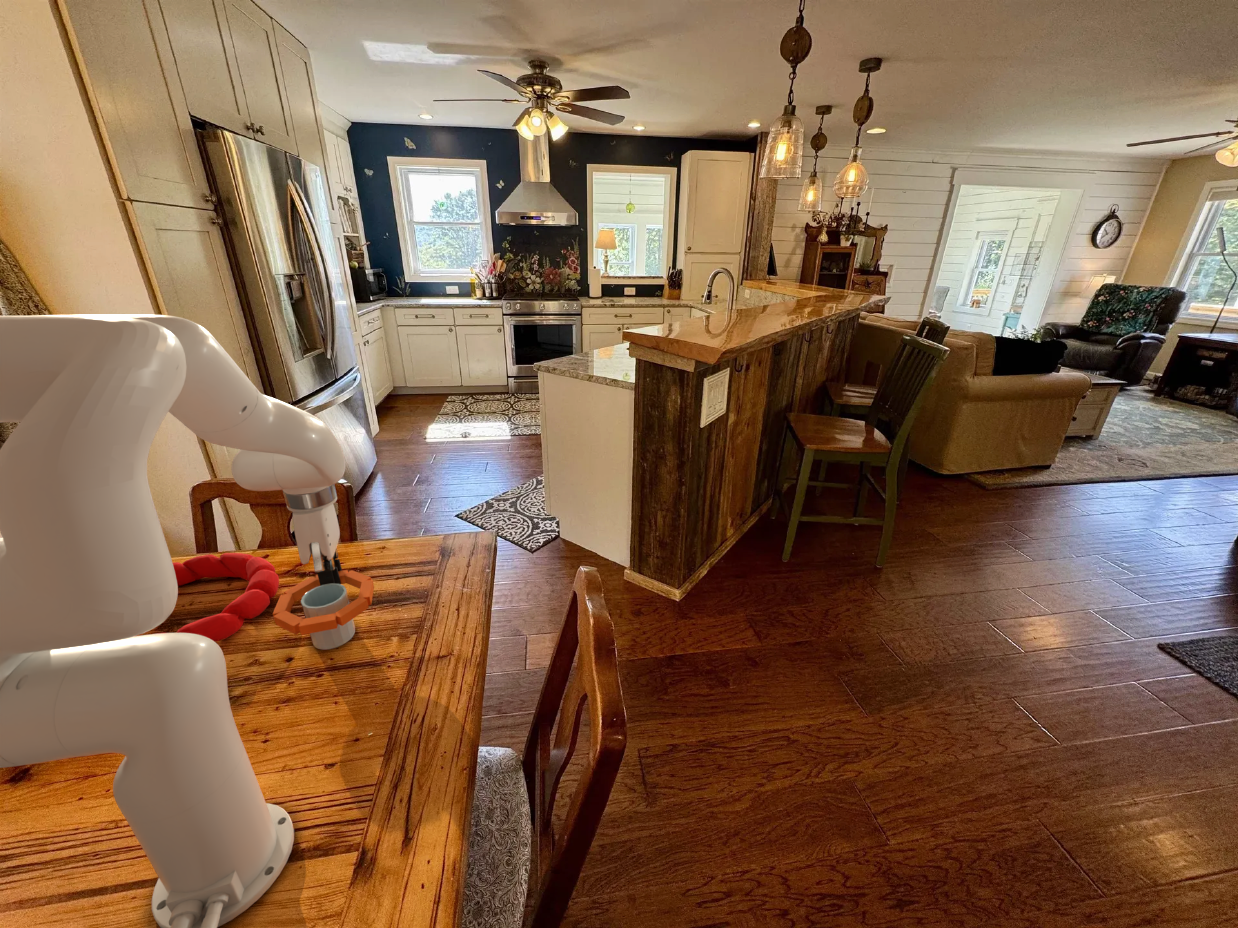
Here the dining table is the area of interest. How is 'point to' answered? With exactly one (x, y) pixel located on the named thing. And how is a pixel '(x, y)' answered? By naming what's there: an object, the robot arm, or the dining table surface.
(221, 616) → the decorative ring
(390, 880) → the dining table surface
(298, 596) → the ring
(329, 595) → the cup
